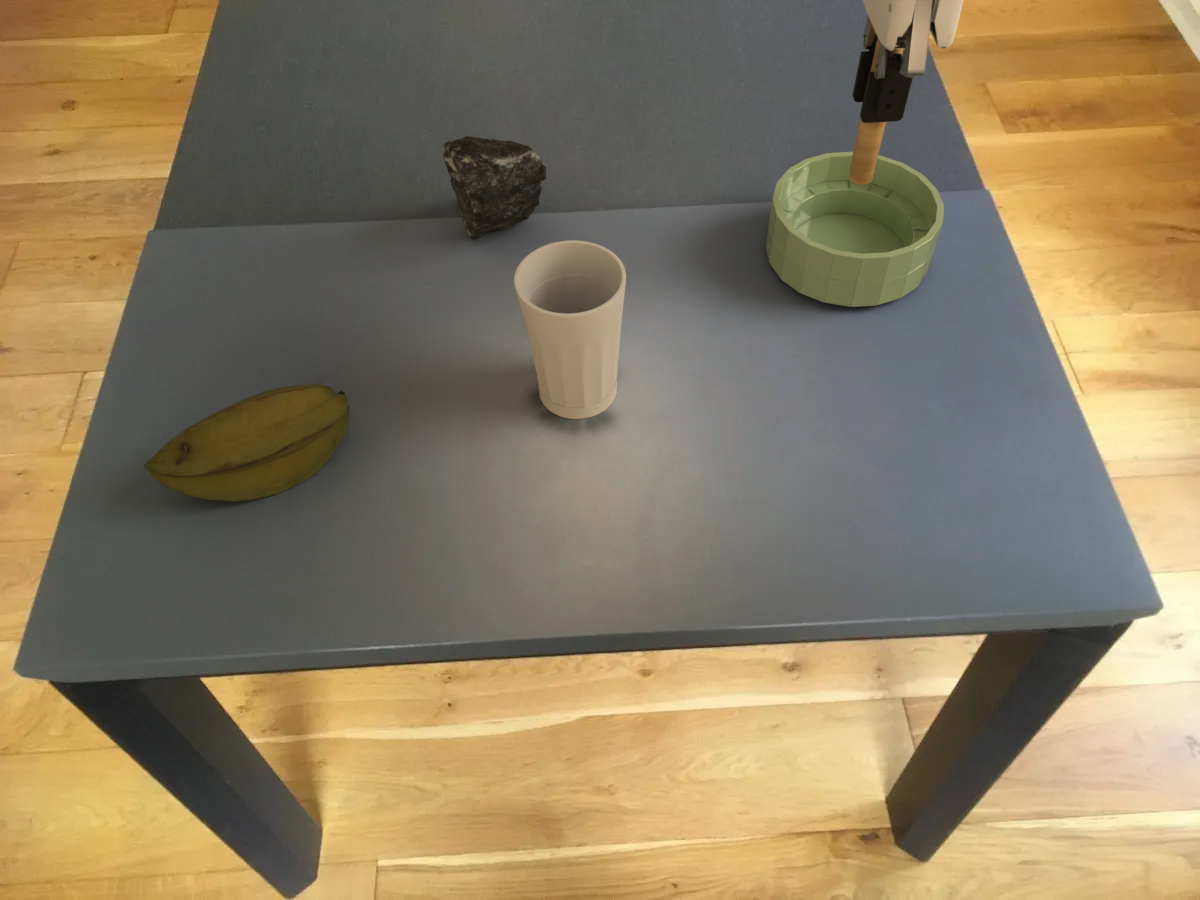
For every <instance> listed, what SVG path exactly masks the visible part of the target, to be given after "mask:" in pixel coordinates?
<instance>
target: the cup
mask: <svg viewBox="0 0 1200 900" xmlns="http://www.w3.org/2000/svg"><path fill="white" fill-rule="evenodd" d="M623 263H624V262H622V260H621V259H620V258H619V256H617V255H616V254H615V253H614V252H613V251H612V250H610V249H608V248H607V247H605V246H603V245H601V244H598V243H595V242H590V241H587V240H586V241H585V240H576V239H574V240H572V239H571V240H561V241H560V240H559V241H555V242H551V243H548V244H545V245H542V246H540V247H538V248H535V250H533V251H531V252H530V253H529V254H527V255H526V256H525V257H524V258H523V259H522V260H521V262H520V263H519V264H518V265H517V268H516V270H515V272H514V277H513V285H514V289H515V293H516V297H517V298H516V299H517V302H518V305H519V309H520V314H521V317H522V320H523V323H524V325H525V329H526V333H527V338H528V342H529V347H530V351H531V355H532V360H533V364H534V368H535V372H536V378H537V385H538V395H539V398H540V401H541V403H542V404H543V406H544V407H545V408H546V409H547V410H548V411H549V412H551V413H552V414H554V415H556V416H559V417H560V418H564V419H569V420H583V419H584V420H585V419H588V418H592V417H595V416H598V415H599V414H601V413H603V412H604V411H606V410H607V409H608V408H609V407H610V406H612V404H613V402H614V401H615V399H616V397H617V394H618V370H619V361H620V360H619V359H620V358H619V357H620V347H621V335H622V322H623V314H624V313H623V311H624V302H625V295H626V294H625V292H626V284H627V271H626V269H625V265H624V264H623Z"/></svg>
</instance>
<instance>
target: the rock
mask: <svg viewBox="0 0 1200 900" xmlns="http://www.w3.org/2000/svg"><path fill="white" fill-rule="evenodd" d="M443 148H444V152H443V156H442V159H443V161H444V164H445V167H446V169H447V173H448V175H449V176H450V179H449V180H450V186H451V189H452V190H453V192H454V193H455V196H456V204H457V205H456V207H457V211H458V214H459V217H460V218H461V219H462V222H463V223H464V226H465V230H466V232H467V234H468V236H469V238H470V240H471V241H475V240H476V239H480V238H481V237H482V236H483V235H485V234H487V233H489V232H494V231H495V232H496V231H502V230H508V229H511V228H512V227H513V226H514V225H515V224H518V223H521V222H523V221H526V220H528V219H529V217H530V216H531V215H532V214H533V213H534V212H535V210H536V207H538V206H539V205H540V196H541V194H542V186H543V184H544V181H545V180H546V179H547V167H546V166H547V165H545V163H544V162H543V161H542V159H541V157H540V155H539V154H538V153H537V152H535V151H534V150H533V148H532V147H530V146H529V145H526V144H522V143H518V142H515V141H513V140H500V139H495V138H482V137H479V136H468V135H465V136H463V137H462V138H456V139H454V140H452V141H451V140H449V141H446V142H444V143H443Z"/></svg>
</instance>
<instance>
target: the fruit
mask: <svg viewBox="0 0 1200 900" xmlns="http://www.w3.org/2000/svg"><path fill="white" fill-rule="evenodd" d="M348 403H349V402H348V397H347V395H346V394H345V392H344V391H343V390H340V391H338V392H337V393H335V391H334V389H333V388H332V387H331V386H328V385H325V384H321V383H305V384H296V385H288V386H281V387H276V388H272V389H269V390H265V391H262V392H260V393H256V394H255V395H251V396H249V397H246V398H243V399H242V400H239V401H237V402H235V403H233V404H231V405H229V406H226V407H224V408H222V409H220V410H218V411H216V412H213V413H212V414H210V415H208V416H206V417H205V418H203V419H201V420H199V421H198V422H196V423H194V424H193V425H191V426H188V427H187V428H185V430H182V431H181V432H179V433H178V434H177V435H175V436H173V437H172V438H171V439H170V440H168V442H167V443H166V444H164V445H163V446H162V447H161V448H160V449H159V450H158V451H157V452H156V453H155V454H154V455H153V456H152V457H151V458H149V459H147V461H146V462H145V463H144V465H143V467H144V468H145V469H146V470H147V472H148V473H149V474H150V475H151V477H152V478H153V479H154V480H155V481H156V482H158V483H160V485H162V486H163V487H166V488H169V489H171V490H173V491H176V492H178V493H180V494H183V495H186V496H189V497H195V498H197V499H202V500H209V501H218V502H227V503H230V502H231V503H236V502H237V503H238V502H247V501H253V500H258V499H262V498H263V499H264V498H267V497H270V496H274V495H277V494H281V493H283V492H285V491H287V490H290V489H291V488H294V487H296V486H298V485H300V484H301V483H303V482H305V481H306V480H309V478H311V477H312V476H314V475H315V474H316V473H318V471H320V470H321V468H322V467H323V466H324V465H325V464H326V463H327V462H328V460H330V459H331V457H332V456H333V454H334V453H335V452H336V450H337V448H338V447H339V446H340V444H341V442H342V440H343V438H344V435H345V433H346V432H347V429H348V427H349V419H350V405H349V404H348Z"/></svg>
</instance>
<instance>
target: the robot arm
mask: <svg viewBox="0 0 1200 900" xmlns="http://www.w3.org/2000/svg"><path fill="white" fill-rule="evenodd" d="M862 3H863V6H864V9H865V11H866V13H867V14H866V15H867V16H866V19H865V20H866V21H865V25H864V30H863V36H862V49H863V50H865V51H860V55H859V59H858V64H857V71H856V75H855V80H854V86H853V90H852V98H853V101H854V102H855V103H862V104H861V108H860V113H859V117H860V118H861V120H862V122H863V123H874V122H886V123H892V122H899V121H901V120H902V119H903V117H904V114H905V110H906V106H907V102H908V98H909V93H910V90H911V86H912V83H913V79H914V78H915V77H921V76H924V75H925V72H926V67H927V59H928V58H927V56H928V49H929V40H930V34H931V36H932V38H933V40H934V41H935V44H936V46H937V48H941V49H948V48H949V47H951V45H952V44H953V42H954V40H955V37H956V32H957V29H958V25H959V22H960V16H961V13H962V9H963V5H964V0H862ZM878 39H879V41H880V45H879V50H878V54H877V59H876V64H875V69H874V72H870V71H871V66H872V62H873V57H874V52H875V48H876V43H877V40H878ZM894 48H904V49H903V53H897V54H893V55H892V56H890V53H891V51H893V50H894Z"/></svg>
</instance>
